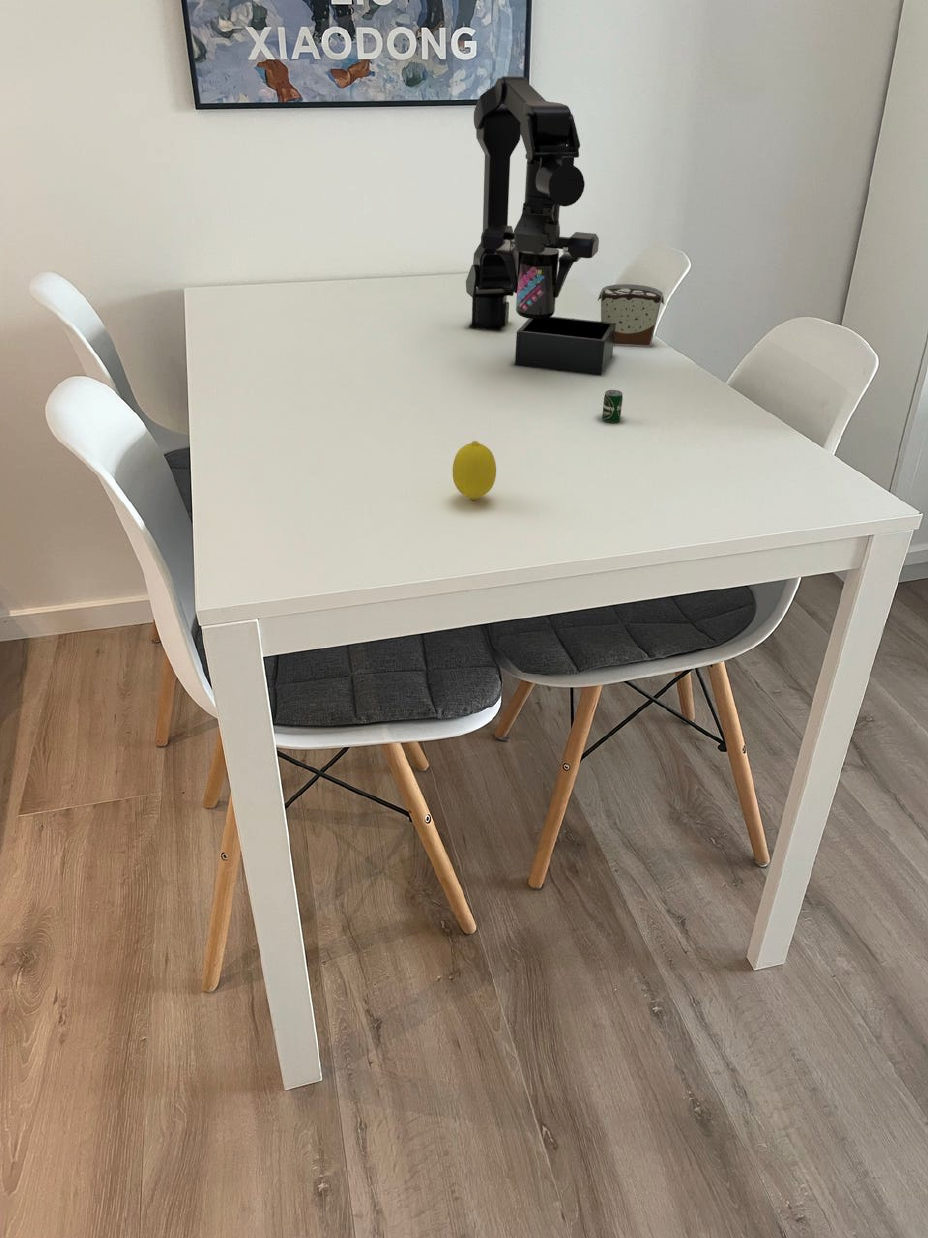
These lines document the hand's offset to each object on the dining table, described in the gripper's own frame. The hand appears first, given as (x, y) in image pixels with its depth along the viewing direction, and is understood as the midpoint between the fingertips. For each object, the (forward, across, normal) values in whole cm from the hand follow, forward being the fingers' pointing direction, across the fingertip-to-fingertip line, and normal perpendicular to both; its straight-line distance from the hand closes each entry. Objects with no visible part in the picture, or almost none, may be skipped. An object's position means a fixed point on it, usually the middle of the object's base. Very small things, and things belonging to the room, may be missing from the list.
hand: (536, 294), depth 155 cm
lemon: (+12, +6, -54) cm, 55 cm away
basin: (+13, +4, +6) cm, 15 cm away
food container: (+13, +13, +23) cm, 29 cm away
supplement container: (+3, 0, 0) cm, 3 cm away
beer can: (+13, +18, -19) cm, 29 cm away
